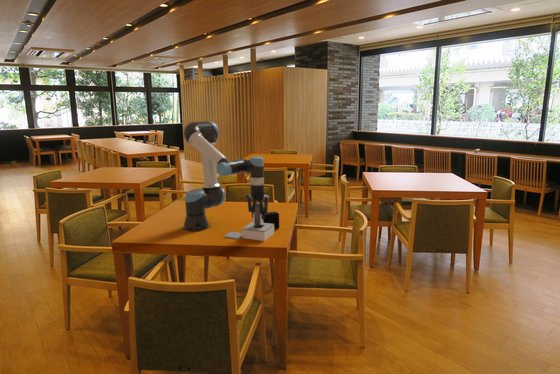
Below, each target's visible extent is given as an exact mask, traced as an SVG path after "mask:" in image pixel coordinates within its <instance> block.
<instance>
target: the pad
mask: <svg viewBox="0 0 560 374" xmlns="http://www.w3.org/2000/svg"><path fill="white" fill-rule="evenodd" d="M223 237H224V238H226V239H233V240H234V239H235V240H239V239H240V238H242V232H238V231H230V232H228V233H227V234H225V235H224V236H223Z"/></svg>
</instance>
